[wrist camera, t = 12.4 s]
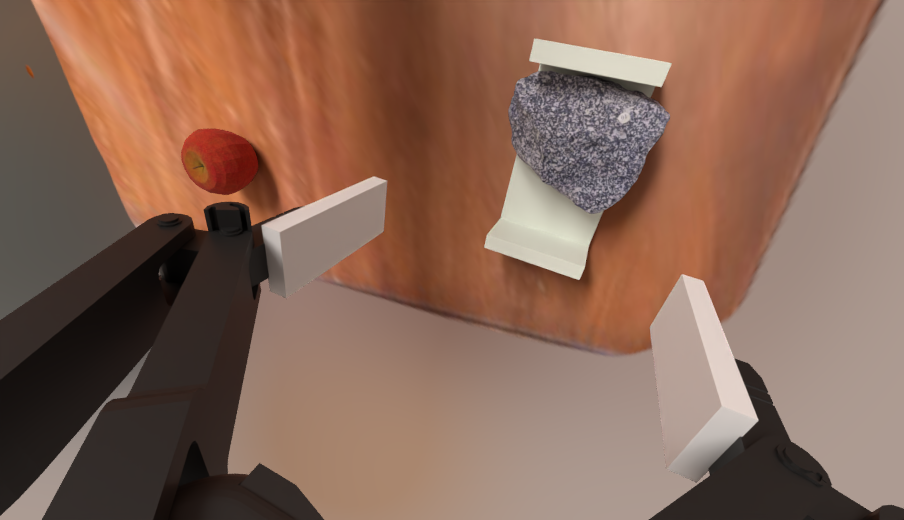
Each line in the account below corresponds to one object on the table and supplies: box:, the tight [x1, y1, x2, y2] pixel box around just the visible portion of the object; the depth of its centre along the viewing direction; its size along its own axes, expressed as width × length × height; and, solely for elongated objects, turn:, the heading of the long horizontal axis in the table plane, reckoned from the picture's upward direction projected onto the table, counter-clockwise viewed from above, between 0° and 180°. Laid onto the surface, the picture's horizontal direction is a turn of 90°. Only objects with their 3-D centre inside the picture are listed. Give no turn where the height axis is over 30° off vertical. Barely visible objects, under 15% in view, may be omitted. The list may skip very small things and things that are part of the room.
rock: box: [508, 71, 670, 214], centre depth 29 cm, size 12×5×10 cm
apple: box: [181, 129, 258, 195], centre depth 45 cm, size 8×8×8 cm
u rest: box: [484, 39, 672, 280], centre depth 31 cm, size 9×17×6 cm, turn 170°
